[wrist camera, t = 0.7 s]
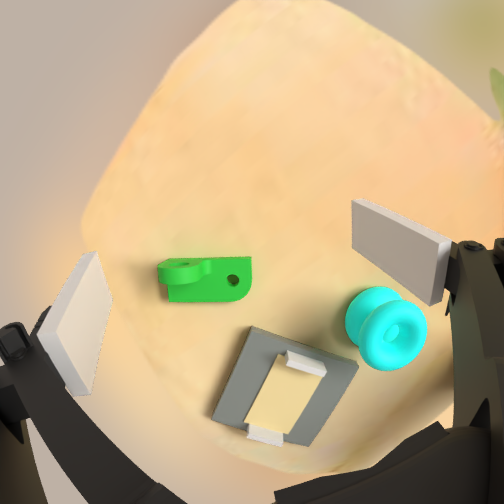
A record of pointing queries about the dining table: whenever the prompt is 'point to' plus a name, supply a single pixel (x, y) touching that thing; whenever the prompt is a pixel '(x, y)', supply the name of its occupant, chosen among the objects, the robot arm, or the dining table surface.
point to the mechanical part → (206, 278)
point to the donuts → (385, 328)
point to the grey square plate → (282, 389)
